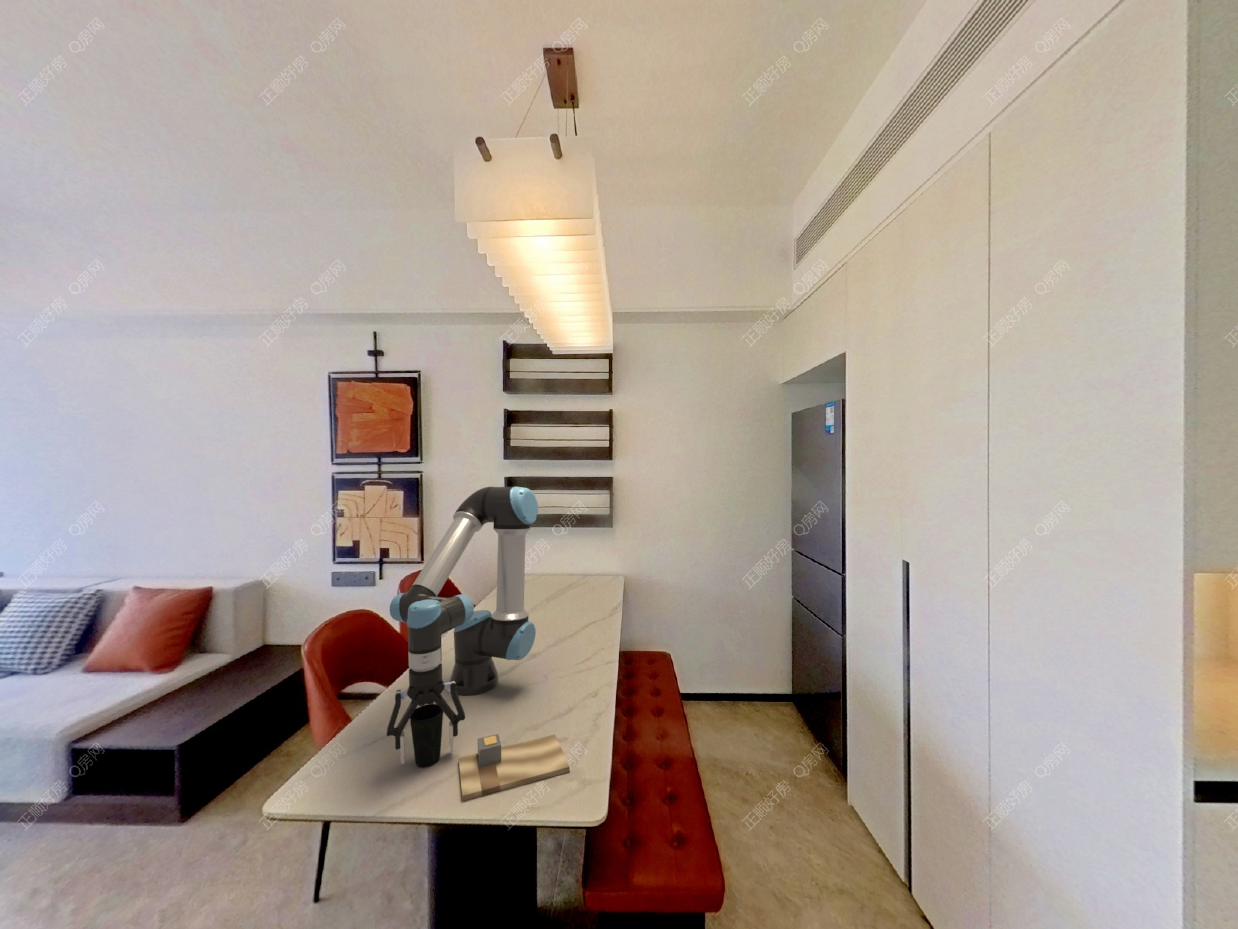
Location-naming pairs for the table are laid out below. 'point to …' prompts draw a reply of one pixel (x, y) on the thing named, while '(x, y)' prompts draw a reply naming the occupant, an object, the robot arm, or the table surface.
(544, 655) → the table surface
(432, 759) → the cup
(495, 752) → the grey block
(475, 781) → the panel
